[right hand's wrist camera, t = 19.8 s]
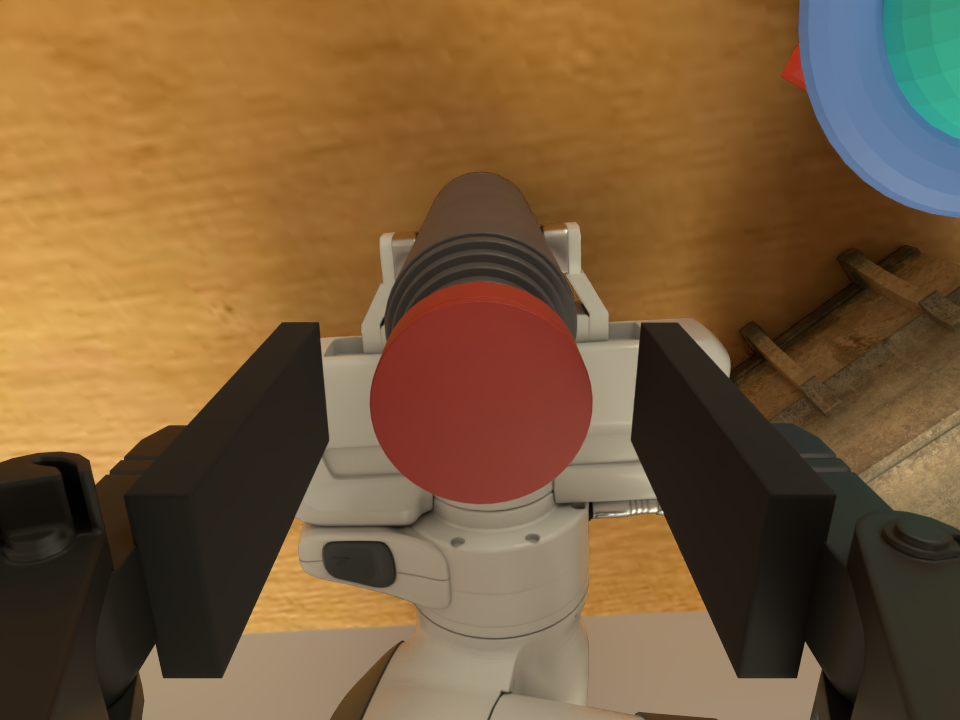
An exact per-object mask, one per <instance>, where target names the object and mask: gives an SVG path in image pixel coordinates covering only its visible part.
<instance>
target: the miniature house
mask: <svg viewBox="0 0 960 720" xmlns="http://www.w3.org/2000/svg"><path fill="white" fill-rule="evenodd" d="M837 260H838V261H839V263H840V264H841V266H842V267H843V269H844V271H845V272H846V274H847V275H848V277H849V278H850V280H851V281H852V284H851V285H849V286H848V287H846V288H845V289H844V290H842V291H841V292H840V293H838V294H837V295H835V296H834V297H833V298H831V299H830V300H829V301H827V302H826V303H825V304H823V305H822V306H820V307H819V308H818V309H816V310H815V311H814V312H812V313H811V314H809V315H808V316H807V317H805V318H804V319H803V320H801V321H800V322H798V323H797V324H796V325H794V326H793V327H792V328H790V329H789V330H788V331H786V332H785V333H783V334H782V335H781V336H779V337H778V338H777V339H775V340H774V341H771V340H770V339H769V338H768V336H767V335H766V334H765V333H764V331H763V330H762V329H761V328H760V326H759V325H757V324H756V323H755V322H754V321H752V322H751V323H749V324H748V325H747V326H745V327H744V328H743V329H741V330H740V331H739V332H740V333H741V335H742V336H743V337H744V339H745V340H746V341H747V343H748V344H749V345H750V347H751V348H752V349H753V351H754V352H755V353H756V354H755V355H753V356H752V357H750V358H749V359H748V360H746V361H745V362H744V363H742V364H741V365H740V366H738V367H737V368H735V369H734V370H733V371H731V372H730V377H729V379H730V380H731V381H732V382H733V383H734V384H735V385H736V386H737V387H738V388H739V389H740V390H741V392H742V393H743V394H744V395H745V396H746V397H747V398H748V399H749V400H750V401H751V402H752V403H753V405H754V406H755V407H756V408H757V409H758V410H759V411H760V412H761V413H762V414H763V415H764V417H765V418H766V419H767V420H768V421H769V422H770V423H792V424H794V425H796V426H798V427H800V428H802V429H804V430H805V431H807V432H809V433H811V434H813V435H815V436H817V437H819V438H820V439H821V440H822V441H823V442H824V443H825V444H826V445H827V446H828V447H829V448H830V449H831V450H832V451H833V452H834V453H835V454H836V457H837V458H840V459H841V460H842V461H844V462H845V463H846V464H847V465H848V466H849V467H850V468H851V472H855V473H856V474H857V475H858V476H859V477H860V478H861V479H862V480H863V481H864V482H865V483H866V484H867V485H868V486H869V487H870V488H871V489H872V490H873V491H874V492H875V493H876V494H877V495H878V496H879V497H880V498H882V499H883V500H884V501H885V502H886V503H887V504H888V505H889V506H890V507H891V508H892V509H893V510H895V511H907V512H911V513H915V514H919V515H923V516H927V517H931V518H934V519H936V520H938V521H941V522H943V523H946V524H948V525H950V526H953V527H955V528H957V529H958V530H960V266H958V265H955V264H952V263H949V262H946V261H943V260H940V259H937V258H934V257H931V256H928V255H925V254H922V253H921V252H920V251H919V249H917V248H915V247H912V246H909V245H905V246H903V247H901V248H900V249H899V250H897V251H896V252H894V253H893V254H892V255H890V256H889V257H888V258H886V259H885V260H883V261H882V262H881V263H879V264H878V265H876V264H875V263H873V262H872V261H870V260H869V259H867V258H866V257H864V255H863V254H862V253H861V251H859V250H857V249H854V248H850V249H849V250H847V251H846V252H845V253H843V254H842V255H841V256H839V257H838V258H837Z"/></svg>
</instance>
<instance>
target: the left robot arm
mask: <svg viewBox="0 0 960 720" xmlns="http://www.w3.org/2000/svg"><path fill="white" fill-rule="evenodd" d="M540 229H541V231H542V233H543V235H544V237H545V239H546V241H547V243H548V245H549V247H550V249H551V251H552V253H553V255H554V257H555V259H556V261H557V263H558V265H559V267H560V269H561V271H562V273H564V274H565V275H566V277H567V279H568V280H569V282H570V283H571V285H572V287H573V288H574V290H575V292H576V293H577V295H578V296H579V298H580V300H581V301H582V303H581V302H580V301H574V302H575V306H576V313H577V334H576V340H575V342H576V344H577V347H578V349H579V352H580V354H581V357H582V359H583V361H584V364H585V366H586V369H587V371H588V375H589V379H590V382H591V388H592V396H593V407H592V417H591V422H590V426H589V430H588V433H587V436H586V438H585V440H584V442H583V445H582V447H581V449H580V450H579V452H578V453H577V455H576V456H575V458H574V459H573V461H572V462H571V463H570V464H569V465H568V467H567V468H566V469H565V470H564V471H563V472H562V473H561V474H560V475H559V476H557V477H556V478H555V479H554V480H553V481H551V482H550V483H548V484H547V485H545V486H544V487H542V488H541V489H539V490H537V491H535V492H533V493H531V494H529V495H526V496H523V497H521V498H518V499H514V500H511V501H507V502H501V503H494V504H469V503H461V502H456V501H451V500H448V499H445V498H442V497H438V496H436V495H434V494H432V493H429V492H427V491H425V490H423V489H422V488H420V487H419V486H417V485H415V484H414V483H412V482H411V481H410V480H409V479H407V478H406V477H405V476H403V475H402V474H401V473H400V471H399V470H398V469H397V468H396V467H395V466H394V465H393V464H392V463H391V461H390V460H389V459H388V457H387V456H386V455H385V453H384V451H383V449H382V448H381V446H380V444H379V442H378V439H377V437H376V434H375V432H374V428H373V424H372V420H371V414H370V390H371V385H372V380H373V376H374V373H375V370H376V368H377V365H378V362H379V360H380V357H381V355H382V352H383V350H384V347H385V345H386V337H385V326H384V323H385V310H386V305H387V300H388V297H389V294H390V291H391V289H392V287H393V285H394V283H395V281H396V279H397V277H398V274H399V272H400V270H401V268H402V266H403V264H404V262H405V260H406V258H407V256H408V254H409V252H410V250H411V248H412V246H413V244H414V242H415V240H416V238H417V236H418V234H419V232H418V231H417V232H391V233H383V234H382V235H381V237H380V243H379V250H380V259H381V268H382V277H383V280H382V282H381V284H380V286H379V288H378V290H377V292H376V294H375V296H374V299H373V301H372V303H371V305H370V307H369V310H368V312H367V314H366V316H365V318H364V320H363V323H362V325H361V333H362V335H361V336H342V337H324V338H320V340H321V351H322V362H323V373H324V385H325V396H326V407H327V418H328V430H329V443H328V445H327V447H326V449H325V452H324V454H323V456H322V458H321V460H320V463H319V465H318V467H317V469H316V471H315V474H314V476H313V478H312V480H311V482H310V485H309V487H308V489H307V491H306V494H305V496H304V498H303V500H302V502H301V505H300V507H299V509H298V511H297V513H296V516H295V518H297V519H299V520H301V521H303V525H302V529H301V533H300V538H299V543H298V556H299V561H300V564H301V566H302V568H303V570H304V571H305V572H306V573H308V574H309V575H311V576H314V577H317V578H320V579H324V580H329V581H334V582H339V583H343V584H348V585H353V586H357V587H361V588H365V589H370V590H374V591H377V592H381V593H385V594H388V595H391V596H395V597H398V598H401V599H404V600H406V601H409V602H412V603H414V606H415V609H416V614H417V623H416V627H415V630H414V634H413V636H412V638H411V639H410V640H409V641H407V642H405V641H401V642H399V643H398V644H396V645H395V646H394V647H392V648H391V649H390V650H389V651H388V652H386V653H385V654H384V655H383V656H382V657H381V658H380V659H379V660H378V661H377V662H376V664H375V665H374V666H373V667H372V668H371V669H370V670H369V671H368V672H367V673H366V674H365V675H364V676H363V677H362V678H361V679H360V680H359V681H358V682H357V683H356V684H355V686H354V687H353V688H352V689H351V690H350V691H349V692H348V694H347V695H346V696H345V697H344V699H343V700H342V701H341V703H340V704H339V706H338V707H337V709H336V710H335V712H334V714H333V715H332V717H331V719H330V720H717V719H715V718H702V717H690V716H678V715H666V714H654V713H644V712H638V713H636V714H635V715H631V714H626V713H620V712H615V711H609V710H603V709H598V708H592V707H587V695H588V677H589V642H588V637H587V632H586V629H585V626H584V623H583V621H582V618H581V612H582V609H583V607H584V604H585V600H586V597H587V594H588V586H589V521H590V520H591V519H599V518H619V517H628V516H634V515H640V514H646V513H647V514H656V515H664V513H663V511H662V509H661V507H660V505H659V502H658V500H657V498H656V496H655V494H654V491H653V489H652V487H651V485H650V482H649V480H648V478H647V476H646V474H645V471H644V469H643V467H642V465H641V463H640V460H639V458H638V456H637V454H636V452H635V449H634V447H633V445H632V443H631V430H632V418H633V407H634V396H635V385H636V373H637V362H638V351H639V340H640V329H641V322H678V323H679V324H680V325H681V326H682V327H683V329H684V330H685V331H686V332H687V333H688V334H689V335H690V336H691V337H692V338H693V339H694V341H695V342H696V343H697V344H698V345H699V346H700V347H701V348H702V349H703V350H704V351H705V352H706V354H707V355H708V356H709V357H710V358H711V359H712V360H713V361H714V362H715V363H716V364H717V365H718V367H719V368H720V369H721V370H722V371H723V372H724V373H725V374H726V375H727V376H728V377H730V365H731V362H730V357H729V354H728V352H727V350H726V349H725V347H724V346H723V345H722V343H721V342H720V341H719V340H718V339H717V337H716V336H715V335H714V334H713V333H712V332H711V331H709V330H708V329H707V328H706V327H705V326H704V325H702V324H701V323H700V322H699V321H697V320H695V319H693V318H671V319H653V320H634V321H616V322H609V313H608V311H607V310H606V308H605V306H604V305H603V303H602V301H601V300H600V298H599V296H598V295H597V293H596V291H595V290H594V288H593V286H592V285H591V283H590V281H589V280H588V278H587V276H586V275H585V273H584V272H583V270H582V268H581V234H580V227H579V225H578V224H577V223H576V222H567V223H551V224H541V225H540Z"/></svg>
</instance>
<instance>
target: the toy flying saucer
mask: <svg viewBox="0 0 960 720" xmlns="http://www.w3.org/2000/svg"><path fill="white" fill-rule="evenodd" d="M798 32H799V43H798V45H797V46H796V48H795V50H794V52H793V54H792V56H791V58H790V59H789V61H788V63H787V65H786V67H785V69H784V70H783V72H782V74H781V77H783V78H784V79H786V80H788V81H790V82H791V83H793V84H795V85H797V86H798V87H800V88H802V89H804V90H805V91H807V93H808V96H809V99H810V101H811V104H812V107H813V110H814V112H815V115H816V118H817V120H818V122H819V124H820V126H821V127H822V129H823V131H824V133H825V135H826V137H827V139H828V140H829V142H830V144H831V145H832V146H833V148H834V149H835V150H836V152H837V153H838V154H839V156H840V157H841V158H842V160H843V161H844V162H845V163H846V164H847V165H848V166H849V167H850V168H851V169H852V170H853V171H854V172H855V173H856V174H857V175H858V176H859V177H860V178H861V179H862V180H863V181H864V182H866V183H867V184H869V185H870V186H872V187H873V188H874V189H876V190H877V191H879V192H880V193H882V194H883V195H885V196H887V197H889V198H891V199H893V200H895V201H897V202H899V203H901V204H903V205H905V206H908V207H911V208H914V209H918V210H921V211H924V212H927V213H931V214H936V215H943V216H950V217H956V218H960V0H800V6H799V28H798Z"/></svg>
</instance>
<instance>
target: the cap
mask: <svg viewBox="0 0 960 720" xmlns="http://www.w3.org/2000/svg"><path fill="white" fill-rule="evenodd" d="M592 407H593V396H592V388H591V382H590V379H589V375H588V371H587V369H586V366H585V364H584V361H583V359H582V357H581V354H580V352H579V349H578V347H577V344H576V342H575V340H574V337H573V335H572V334H571V332H570V330H569V329H568V327H567V325H566V324H565V323H564V321H563V320H562V319H561V318H560V316H559V315H558V314H557V313H556V312H555V311H554V310H553V309H552V308H550V307H549V306H548V305H547V304H546V303H544V302H543V301H541V300H540V299H539V298H537V297H535V296H533V295H531V294H530V293H528V292H526V291H523V290H521V289H518V288H515V287H512V286H508V285H504V284H500V283H491V282H470V283H464V284H458V285H454V286H451V287H447V288H444V289H441V290H439V291H437V292H435V293H433V294H430V295H429V296H427V297H426V298H424V299H422V300H421V301H419V302H418V303H417V304H415V305H414V306H413V307H412V308H411V309H409V310H408V311H407V312H406V314H405V315H404V316H403V317H402V318H401V319H400V320H399V322H398V323H397V324H396V326H395V327H394V329H393V330H392V332H391V334H390V336H389V338H388V340H387V342H386V345H385V347H384V350H383V352H382V355H381V357H380V360H379V362H378V365H377V368H376V370H375V373H374V376H373V380H372V385H371V390H370V414H371V420H372V424H373V428H374V432H375V434H376V437H377V439H378V442H379V444H380V446H381V448H382V449H383V451H384V453H385V455H386V456H387V457H388V459H389V460H390V461H391V463H392V464H393V465H394V466H395V467H396V468H397V469H398V470H399V471H400V473H401V474H402V475H403V476H405V477H406V478H407V479H409V480H410V481H411V482H412V483H414V484H415V485H417V486H419V487H420V488H422V489H423V490H425V491H427V492H429V493H432V494H434V495H436V496H438V497H442V498H445V499H448V500H451V501H456V502H461V503H469V504H494V503H501V502H507V501H511V500H514V499H518V498H521V497H523V496H526V495H529V494H531V493H533V492H535V491H537V490H539V489H541V488H542V487H544V486H545V485H547V484H548V483H550V482H551V481H553V480H554V479H555V478H556V477H557V476H559V475H560V474H561V473H562V472H563V471H564V470H565V469H566V468H567V467H568V465H569V464H570V463H571V462H572V461H573V459H574V458H575V456H576V455H577V453H578V452H579V450H580V449H581V447H582V445H583V442H584V440H585V438H586V436H587V433H588V430H589V426H590V422H591V417H592Z"/></svg>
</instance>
